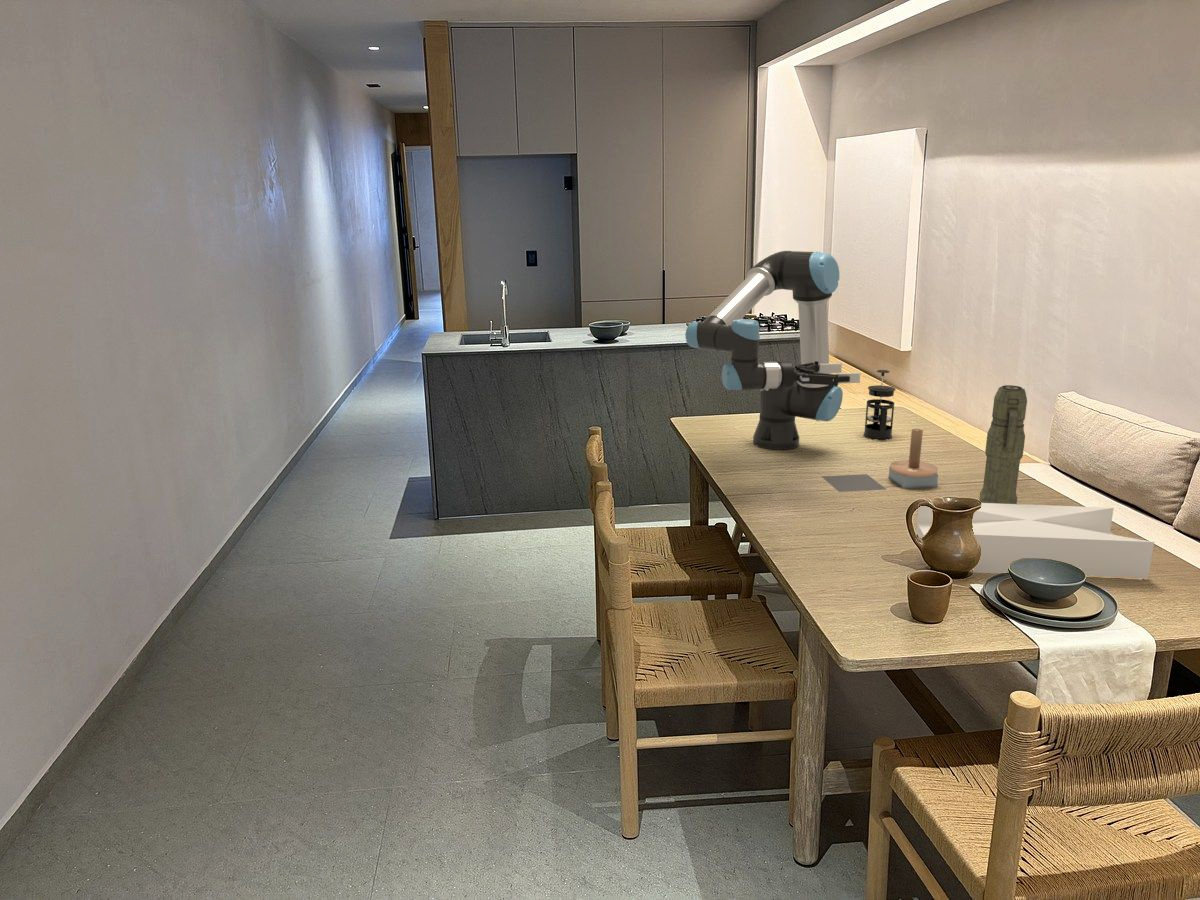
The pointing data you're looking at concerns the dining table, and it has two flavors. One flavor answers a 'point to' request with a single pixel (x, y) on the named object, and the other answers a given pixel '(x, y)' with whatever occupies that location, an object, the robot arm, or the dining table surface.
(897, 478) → the dish
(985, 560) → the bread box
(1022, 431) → the green carved statue
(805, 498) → the dining table surface
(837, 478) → the mat
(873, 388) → the french press
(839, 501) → the dining table surface
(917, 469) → the lid
